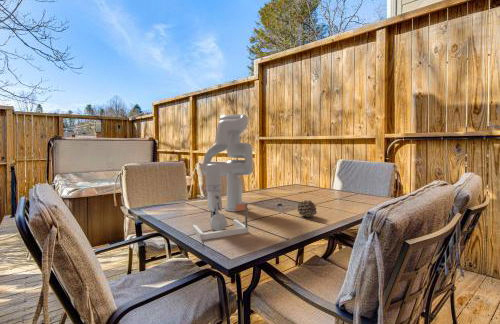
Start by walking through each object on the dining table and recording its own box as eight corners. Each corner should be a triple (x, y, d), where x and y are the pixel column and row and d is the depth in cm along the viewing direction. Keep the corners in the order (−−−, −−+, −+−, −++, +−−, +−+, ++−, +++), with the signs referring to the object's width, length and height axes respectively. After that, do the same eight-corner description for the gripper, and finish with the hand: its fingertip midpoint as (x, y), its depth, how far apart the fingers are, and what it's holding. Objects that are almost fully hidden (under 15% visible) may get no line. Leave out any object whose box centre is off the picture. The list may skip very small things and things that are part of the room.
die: (231, 231, 137) (228, 212, 142) (223, 227, 129) (220, 207, 135) (216, 236, 139) (213, 217, 144) (207, 232, 131) (204, 213, 136)
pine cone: (322, 219, 155) (322, 201, 155) (308, 221, 151) (308, 203, 150) (298, 210, 175) (298, 194, 174) (285, 212, 171) (285, 196, 170)
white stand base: (235, 224, 147) (235, 197, 146) (248, 232, 133) (248, 203, 132) (192, 230, 137) (191, 202, 136) (201, 240, 123) (200, 208, 122)
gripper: (225, 189, 136) (226, 226, 138) (216, 185, 150) (216, 218, 151) (211, 190, 133) (211, 228, 135) (202, 186, 147) (203, 220, 148)
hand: (214, 223), depth 143 cm, fingers closed
